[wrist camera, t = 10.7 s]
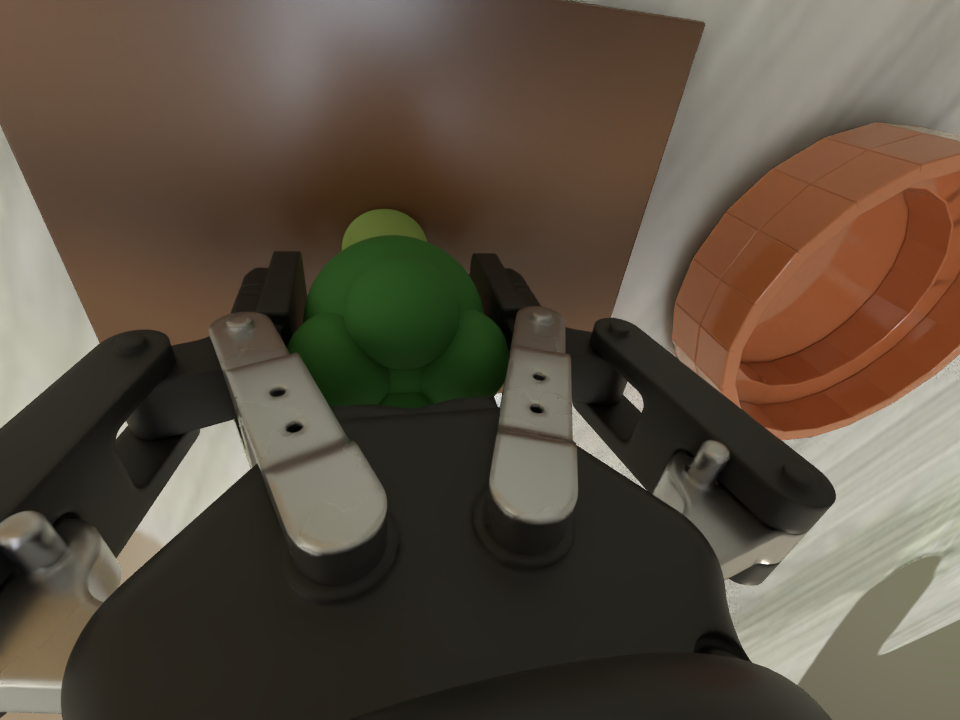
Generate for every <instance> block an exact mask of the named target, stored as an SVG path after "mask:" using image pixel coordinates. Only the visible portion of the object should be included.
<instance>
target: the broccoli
mask: <svg viewBox="0 0 960 720" xmlns="http://www.w3.org/2000/svg"><path fill="white" fill-rule="evenodd" d="M287 349H288V351H289V353H290V354H293V353H298V354H299V355H300V357H301V359H302V360H303V362H304V364H305V365H306V367H307V369H308V371H309V372H310V374H311V376H312V377H313V379H314V381H315V383H316V384H317V386H318V388H319V389H320V391H321V393H322V395H323V396H324V398H325V400H326V402H327V403H328V405H329V407H336V406H351V405H366V404H374V405H384V406H393V407H402V408H413V409H414V408H421V407H425V406H428V405H432V404H436V403H440V402H444V401H448V400H451V399H455V398H470V397H485V396H495V395H496V394H497V392H498V391H499V390H500V388H501V387H502V385H503V383H504V382H505V378H506V373H507V367H508V361H509V348H508V344H507V341H506V339H505V336H504V335H503V333H502V331H501V330H500V328H499V327H498V326H497V325H496V323H495V322H494V321H492V320H491V319H490V318H489V317H487V316H486V315H484V309H483V305H482V301H481V298H480V295H479V293H478V290H477V288H476V286H475V284H474V282H473V281H472V279H471V278H470V276H469V274H468V273H467V271H466V270H465V269H464V268H463V267H462V266H461V264H460V263H458V262H457V261H456V260H455V259H454V258H453V257H452V256H451V255H450V254H448V253H447V252H445V251H444V250H442V249H441V248H439V247H437V246H435V245H433V244H431V243H429V242H427V239H426V236H425V234H424V232H423V230H422V228H421V227H420V226H419V224H418V223H417V222H416V221H415V220H414V219H412V218H411V217H409V216H408V215H406V214H404V213H402V212H399V211H396V210H392V209H376V210H372V211H368V212H366V213H364V214H362V215H360V216H359V217H357V218H356V219H355V220H354V221H353V222H352V223H351V224H350V225H349V227H348V228H347V230H346V232H345V234H344V237H343V241H342V251H341V252H339V253H338V254H337V255H336V256H334V257H333V258H332V259H331V260H330V261H329V262H328V263H327V264H326V265H325V266H324V267H323V268H322V270H321V271H320V273H319V274H318V276H317V277H316V279H315V280H314V282H313V284H312V286H311V288H310V290H309V293H308V296H307V300H306V303H305V307H304V314H303V324H302V325H301V326H300V327H299V328H298V329H297V330H296V331H295V333H294V334H293V336H292V337H291V339H290V341H289V343H288V345H287Z"/></svg>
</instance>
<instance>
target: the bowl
mask: <svg viewBox="0 0 960 720" xmlns="http://www.w3.org/2000/svg"><path fill="white" fill-rule="evenodd" d="M693 258H694V259H692V261H691V264H690V266H689V269H688V271H687V273H686V276H685V278H684V281H683V283H682V286H681V288H680V291H679V293H678V295H677V298H676V302H675V306H674V318H673V329H672V341H673V344H674V347H675V350H676V353H677V356H678V359H679V360H680V361H681V362H682V363H684V364H685V365H686V366H687V367H689V368H690V369H691V370H693V371H694V372H695V373H696V374H698V375H699V376H700V377H701V378H703V379H704V380H705V381H707V382H708V383H709V384H710V385H712V386H713V387H714V388H715V389H717V390H718V391H719V392H720V393H722V394H723V395H724V396H726V397H727V398H728V399H729V400H731V401H732V402H733V403H734V404H736V405H737V406H738V407H740V408H741V409H742V410H743V411H745V412H746V413H747V414H748V415H750V416H751V417H752V418H753V419H755V420H756V421H757V422H759V423H760V424H761V425H762V426H764V427H765V428H766V429H767V430H769V431H770V432H771V433H773V434H774V435H775V436H776V437H778V438H779V439H780V440H790V439H799V438H809V437H814V436H817V435H820V434H823V433H826V432H829V431H832V430H836V429H839V428H842V427H845V426H848V425H850V424H852V423H854V422H856V421H858V420H860V419H862V418H864V417H866V416H869V415H871V414H873V413H875V412H877V411H879V410H881V409H883V408H885V407H887V406H889V405H891V404H892V403H894V402H895V401H897V400H898V399H900V398H901V397H903V396H904V395H906V394H907V393H909V392H910V391H912V390H913V389H915V388H916V387H918V386H919V385H921V384H922V383H924V382H925V381H927V380H928V379H930V378H931V377H933V376H934V375H936V374H937V373H938V372H939V371H941V370H942V369H943V368H944V367H945V366H946V365H948V364H949V363H950V362H951V361H952V360H953V359H955V358H956V357H957V356H958V355H959V354H960V136H959V135H954V134H950V133H945V132H941V131H936V130H932V129H927V128H923V127H918V126H910V125H900V124H891V123H881V122H876V123H872V124H868V125H865V126H861V127H858V128H854V129H851V130H847V131H844V132H840V133H837V134H834V135H830V136H827V137H825V138H822V139H821V140H819V141H817V142H816V143H814V144H812V145H811V146H809V147H807V148H806V149H804V150H802V151H801V152H799V153H797V154H796V155H794V156H792V157H791V158H789V159H787V160H786V161H784V162H782V163H781V164H779V165H777V166H776V167H774V168H773V169H771V170H770V171H768V172H767V173H766V174H765V175H764V176H763V177H762V178H761V179H760V180H759V181H758V182H757V183H756V184H755V185H753V186H752V187H751V188H750V189H749V190H748V191H747V192H746V193H745V194H744V195H743V196H742V197H741V198H740V199H738V200H737V201H736V202H735V203H734V204H733V205H732V206H731V207H730V208H729V209H728V210H727V211H726V213H724V215H723V216H722V218H721V219H720V220H719V222H718V223H717V225H716V226H715V227H714V229H713V230H712V232H711V233H710V234H709V236H708V237H707V239H706V240H705V241H704V243H703V244H702V246H701V247H700V248H699V250H698V251H697V253H696V254H695V256H694V257H693Z"/></svg>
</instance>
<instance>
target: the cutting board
mask: <svg viewBox="0 0 960 720" xmlns="http://www.w3.org/2000/svg"><path fill="white" fill-rule="evenodd" d="M704 27H705V23H704V22H703V21H697V20H690V19H684V18H677V17H671V16H664V15H658V14H651V13H645V12H638V11H632V10H626V9H619V8H613V7H606V6H600V5H593V4H587V3H580V2H574V1H567V0H0V125H1V127H2V129H3V132H4V134H5V136H6V138H7V140H8V143H9V145H10V147H11V149H12V151H13V154H14V156H15V158H16V160H17V162H18V165H19V167H20V169H21V171H22V173H23V176H24V178H25V180H26V182H27V184H28V186H29V189H30V191H31V193H32V195H33V197H34V200H35V202H36V204H37V206H38V208H39V211H40V213H41V215H42V217H43V219H44V222H45V224H46V226H47V228H48V230H49V233H50V235H51V237H52V239H53V241H54V244H55V246H56V248H57V250H58V252H59V254H60V257H61V259H62V261H63V263H64V265H65V268H66V270H67V272H68V274H69V276H70V279H71V281H72V283H73V285H74V287H75V290H76V292H77V294H78V296H79V298H80V301H81V303H82V305H83V307H84V309H85V312H86V314H87V316H88V318H89V320H90V322H91V325H92V327H93V329H94V331H95V333H96V336H97V338H98V340H99V342H100V343H101V342H103V341H104V340H106V339H108V338H110V337H112V336H114V335H117V334H120V333H123V332H127V331H132V330H143V329H147V330H156V331H160V332H162V333H164V334H166V335H167V336H168V337H169V340H170V343H171V346H172V345H177V344H182V343H187V342H192V341H196V340H200V339H203V338H206V337H209V336H210V335H209V331H208V330H209V327H210V325H211V324H212V323H213V322H214V321H215V320H217V319H218V318H220V317H222V316H225V315H228V314H230V313H231V310H232V308H233V305H234V303H235V300H236V297H237V295H238V292H239V289H240V287H241V284H242V281H243V279H244V276H245V275H246V274H248V273H249V272H250V271H252V270H253V269H254V268H269V265H270V262H271V258H272V255H273V252H274V251H300V252H301V254H302V259H303V267H304V275H305V283H306V290H307V296H308V293H309V290H310V288H311V286H312V284H313V282H314V280H315V279H316V277H317V276H318V274H319V273H320V271H321V270H322V268H323V267H324V266H325V265H326V264H327V263H328V262H329V261H330V260H331V259H332V258H333V257H334V256H336V255H337V254H338V253H339V252H341V251H342V241H343V237H344V234H345V232H346V230H347V228H348V227H349V225H350V224H351V223H352V222H353V221H354V220H355V219H356V218H357V217H359V216H360V215H362V214H364V213H366V212H368V211H372V210H376V209H392V210H396V211H399V212H402V213H404V214H406V215H408V216H409V217H411V218H412V219H414V220H415V221H416V222H417V223H418V224H419V226H420V227H421V228H422V230H423V232H424V234H425V236H426V239H427V242H429V243H431V244H433V245H435V246H437V247H439V248H441V249H442V250H444V251H445V252H447V253H448V254H450V255H451V256H452V257H453V258H454V259H455V260H456V261H457V262H458V263H460V264H461V266H462V267H463V268H464V269H465V270H466V271H467V273H468V274H470V264H471V258H472V255H473V253H495V254H497V256H498V258H499V259H500V261H501V263H502V264H503V266H504V268H512V269H513V270H515V271H516V272H518V273H519V274H520V275H522V276H523V278H524V280H525V281H526V283H527V285H528V286H529V288H530V289H531V292H533V294H534V295H535V297H536V299H537V300H538V302H539V303H540V305H541V306H542V307H546V308H549V309H552V310H554V311H556V312H558V313H559V314H560V315H562V316H563V318H564V319H565V327H568V328H572V329H577V330H583V331H589V332H592V331H593V327H594V324H595V322H596V321H597V320H599V319H603V318H610V317H611V314H612V311H613V308H614V305H615V302H616V299H617V296H618V293H619V290H620V286H621V283H622V280H623V277H624V274H625V271H626V268H627V265H628V262H629V259H630V256H631V252H632V249H633V246H634V243H635V240H636V237H637V234H638V231H639V228H640V225H641V221H642V218H643V215H644V212H645V209H646V206H647V203H648V200H649V197H650V194H651V191H652V187H653V184H654V181H655V178H656V175H657V172H658V169H659V166H660V163H661V160H662V156H663V153H664V150H665V147H666V144H667V141H668V138H669V135H670V132H671V129H672V126H673V122H674V119H675V116H676V113H677V110H678V107H679V104H680V101H681V98H682V95H683V92H684V88H685V85H686V82H687V79H688V76H689V73H690V70H691V67H692V64H693V61H694V57H695V54H696V51H697V48H698V45H699V42H700V39H701V36H702V33H703V30H704ZM503 387H504V383H503V385H502V387H501V388H500V390H499V391H498V392H497V393H503Z"/></svg>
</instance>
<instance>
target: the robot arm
mask: <svg viewBox="0 0 960 720" xmlns="http://www.w3.org/2000/svg"><path fill="white" fill-rule="evenodd" d="M469 276H470V278H471V279H472V281H473V282H474V284H475V286H476V288H477V290H478V293H479V295H480V298H481V301H482V305H483V309H484V315H486V316H487V317H489V318H490V319H491V320H492V321H494V322H495V323H496V325H497V326H498V327H499V328H500V330H501V331H502V333H503V335H504V336H505V339H506V341H507V344H508V348H509V361H508V367H507V373H506V378H505V382H504V387H503V393H502V399H501V405H500V407H497V404H496V401H495V398H494V396H485V397H470V398H455V399H451V400H448V401H444V402H440V403H436V404H432V405H428V406H425V407H421V408H414V409H413V408H402V407H393V406H384V405H374V404H366V405H351V406H336V407H329V405H328V403H327V402H326V400H325V398H324V396H323V395H322V393H321V391H320V389H319V388H318V386H317V384H316V383H315V381H314V379H313V377H312V376H311V374H310V372H309V371H308V369H307V367H306V365H305V364H304V362H303V360H302V359H301V357H300V355H299V354H298V353H293V354H290V353H289V351H288V349H287V345H288V343H289V341H290V339H291V337H292V336H293V334H294V333H295V331H296V330H297V329H298V328H299V327H300V326H301V325H302V324H303V314H304V307H305V303H306V300H307V290H306V283H305V275H304V267H303V259H302V254H301V252H300V251H274V252H273V255H272V258H271V262H270V265H269V268H254V269H253V270H252V271H250V272H249V273H248V274H246V275H245V276H244V279H243V281H242V284H241V287H240V289H239V292H238V295H237V297H236V300H235V303H234V305H233V308H232V310H231V313H230V314H228V315H225V316H222V317H220V318H218V319H217V320H215V321H214V322H213V323H212V324H211V325H210V327H209V330H208V331H209V335H210V336H209V337H206V338H203V339H200V340H196V341H192V342H187V343H182V344H177V345H172V346H171V343H170V340H169V337H168V336H167V335H166V334H164V333H162V332H160V331H156V330H147V329H143V330H132V331H127V332H123V333H120V334H117V335H114V336H112V337H110V338H108V339H106V340H104V341H103V342H101V343H100V344H99V345H97V346H96V347H95V348H94V349H93V350H92V351H90V352H89V353H88V354H87V355H86V356H85V357H83V358H82V359H81V360H80V361H79V362H78V363H76V364H75V365H74V366H73V367H72V368H71V369H69V370H68V371H67V372H66V373H65V374H64V375H62V376H61V377H60V378H59V379H58V380H57V381H55V382H54V383H53V384H52V385H51V386H50V387H48V388H47V389H46V390H45V391H44V392H43V393H41V394H40V395H39V396H38V397H37V398H36V399H34V400H33V401H32V402H31V403H30V404H29V405H27V406H26V407H25V408H24V409H23V410H22V411H20V412H19V413H18V414H17V415H16V416H15V417H13V418H12V419H11V420H10V421H9V422H8V423H6V424H5V425H4V426H3V427H2V428H1V429H0V718H1V717H2V716H3V715H5V714H6V713H7V712H19V713H51V714H62V717H63V720H832V719H831V718H830V716H829V715H828V714H827V713H826V712H825V711H824V709H822V707H821V706H820V705H819V704H818V703H817V702H816V701H815V700H814V699H813V698H812V697H811V696H810V695H809V694H807V692H805V691H804V690H803V689H802V688H800V687H799V686H797V685H796V684H795V683H793V682H792V681H790V680H789V679H787V678H785V677H784V676H782V675H780V674H778V673H776V672H774V671H772V670H770V669H768V668H766V667H763V666H760V665H757V664H754V663H752V662H751V661H750V659H749V658H748V656H747V655H746V653H745V651H744V650H743V648H742V646H741V644H740V641H739V639H738V636H737V634H736V631H735V629H734V626H733V623H732V619H731V616H730V613H729V609H728V604H727V599H726V591H725V583H724V580H726V579H730V580H732V581H734V582H736V583H739V584H743V585H748V586H753V585H758V584H760V583H762V582H763V581H764V580H765V579H766V578H767V577H768V575H769V574H770V573H771V572H772V571H773V570H774V569H775V568H776V567H777V565H778V564H779V563H780V562H781V561H782V560H783V559H784V558H785V557H786V556H787V554H788V553H789V552H790V551H791V550H792V549H793V548H794V547H795V546H796V544H797V543H798V542H799V541H800V540H801V539H802V538H803V537H804V536H805V534H806V533H807V532H808V531H809V530H810V529H811V528H812V527H813V526H814V524H815V523H816V522H817V521H818V520H819V519H820V518H821V517H822V516H823V514H824V513H825V512H826V511H827V510H828V509H829V508H830V507H831V506H832V504H833V503H834V502H835V499H836V494H835V490H834V488H833V486H832V484H831V482H830V481H829V480H828V479H827V477H826V476H825V475H824V474H823V473H822V472H820V471H819V470H818V469H817V468H816V467H814V466H813V465H812V464H811V463H809V462H808V461H807V460H805V459H804V458H803V457H802V456H800V455H799V454H798V453H797V452H795V451H794V450H793V449H792V448H790V447H789V446H788V445H786V444H785V443H784V442H783V441H781V440H780V439H779V438H778V437H776V436H775V435H774V434H773V433H771V432H770V431H769V430H767V429H766V428H765V427H764V426H762V425H761V424H760V423H759V422H757V421H756V420H755V419H753V418H752V417H751V416H750V415H748V414H747V413H746V412H745V411H743V410H742V409H741V408H740V407H738V406H737V405H736V404H734V403H733V402H732V401H731V400H729V399H728V398H727V397H726V396H724V395H723V394H722V393H720V392H719V391H718V390H717V389H715V388H714V387H713V386H712V385H710V384H709V383H708V382H707V381H705V380H704V379H703V378H701V377H700V376H699V375H698V374H696V373H695V372H694V371H693V370H691V369H690V368H689V367H687V366H686V365H685V364H684V363H682V362H681V361H680V360H679V359H677V358H676V357H675V356H674V355H672V354H671V353H670V352H668V351H667V350H666V349H665V348H663V347H662V346H661V345H660V344H658V343H657V342H656V341H654V340H653V339H652V338H651V337H649V336H648V335H647V334H646V333H644V332H643V331H642V330H641V329H639V328H638V327H637V326H635V325H634V324H632V323H630V322H627V321H625V320H621V319H617V318H603V319H599V320H597V321H596V322H595V324H594V327H593V331H592V332H589V331H583V330H577V329H572V328H568V327H565V319H564V318H563V316H562V315H560V314H559V313H558V312H556V311H554V310H552V309H549V308H546V307H542V306H541V305H540V303H539V302H538V300H537V299H536V297H535V295H534V294H533V292H531V289H530V288H529V286H528V285H527V283H526V281H525V280H524V278H523V276H522V275H520V274H519V273H518V272H516V271H515V270H513V269H512V268H504V266H503V264H502V263H501V261H500V259H499V258H498V256H497V254H495V253H473V255H472V258H471V264H470V274H469ZM627 381H628V382H629V383H630V384H631V385H632V386H633V387H634V388H635V389H637V390H638V391H639V393H640V394H641V396H642V398H643V403H644V407H643V411H642V413H641V412H640V411H639V410H638V409H637V408H636V407H635V406H634V405H633V404H632V403H631V402H630V401H629V400H628V399H627V398H626V397H625V396H624V395H623V392H624V389H625V386H626V384H627ZM572 404H573V406H574V408H575V409H576V410H577V411H578V412H579V414H580V415H581V416H582V417H583V418H584V419H585V420H586V422H587V423H588V424H589V425H590V426H591V427H592V428H593V429H594V431H595V432H596V433H597V434H598V435H599V436H600V437H601V439H602V440H603V441H604V442H605V443H606V444H607V445H608V447H609V448H610V449H611V450H612V451H613V452H614V453H615V454H616V456H617V457H618V458H619V459H620V460H621V461H622V462H623V464H624V465H625V466H626V467H627V468H628V469H629V470H630V472H631V473H632V474H633V475H634V476H635V477H636V478H637V479H638V481H639V482H640V483H641V484H642V485H643V486H644V487H645V489H646V490H645V489H643V488H642V487H640V486H639V485H637V484H636V483H634V482H633V481H631V480H629V479H628V478H626V477H625V476H623V475H622V474H620V473H619V472H617V471H616V470H614V469H612V468H611V467H609V466H608V465H606V464H605V463H603V462H602V461H600V460H598V459H597V458H595V457H594V456H592V455H591V454H589V453H588V452H586V451H585V450H583V449H581V448H580V447H578V446H577V445H576V443H575V442H574V441H573V435H572ZM233 419H234V422H235V425H236V428H237V431H238V434H239V436H240V439H241V442H242V445H243V448H244V451H245V453H246V456H247V459H248V462H249V465H250V468H251V469H250V470H249V471H248V472H247V473H246V474H245V475H243V476H242V477H241V478H240V479H239V480H238V481H237V482H236V483H235V484H233V485H232V486H231V487H230V488H229V489H228V490H227V491H226V492H225V493H223V494H222V495H221V496H220V497H219V498H218V499H217V500H216V501H214V502H213V503H212V504H211V505H210V506H209V507H208V508H207V509H206V510H204V511H203V512H202V513H201V514H200V515H199V516H198V517H197V518H195V519H194V520H193V521H192V522H191V523H190V524H189V525H188V526H187V527H185V528H184V529H183V530H182V531H181V532H180V533H179V534H178V535H176V536H175V537H174V538H173V539H172V540H171V541H170V542H169V543H168V544H166V545H165V546H164V547H163V548H162V549H161V550H160V551H159V552H157V553H156V554H155V555H154V556H153V557H152V558H151V559H150V560H149V561H148V562H146V563H145V564H144V565H143V566H142V567H141V568H140V569H138V570H137V571H136V572H135V573H134V574H133V575H132V576H131V577H130V578H128V579H127V580H126V581H125V582H124V583H123V584H122V585H121V586H120V587H118V586H119V584H120V580H121V573H122V572H121V567H120V565H119V563H118V561H117V560H116V558H117V556H118V555H119V553H120V552H121V551H122V549H123V548H124V546H125V545H126V543H127V542H128V540H129V539H130V537H131V536H132V534H133V533H134V531H135V530H136V528H137V527H138V525H139V524H140V522H141V521H142V519H143V518H144V516H145V515H146V513H147V512H148V510H149V509H150V507H151V506H152V504H153V503H154V501H155V500H156V499H157V497H158V496H159V494H160V493H161V491H162V490H163V488H164V487H165V485H166V484H167V482H168V481H169V479H170V478H171V476H172V475H173V473H174V472H175V470H176V469H177V467H178V466H179V464H180V463H181V461H182V460H183V458H184V457H185V455H186V454H187V452H188V451H189V449H190V448H191V446H192V445H193V443H194V442H195V440H196V439H197V437H198V435H199V433H200V429H201V428H204V427H208V426H212V425H215V424H219V423H222V422H226V421H229V420H233ZM125 421H127V423H128V426H127V427H126V428H125V430H124V431H123V432H122V433H121V434H120V435H119V437H118V438H117V439H116V436H117V433H118V430H119V429H120V427H121V426H122V425H123V423H124V422H125Z"/></svg>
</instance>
